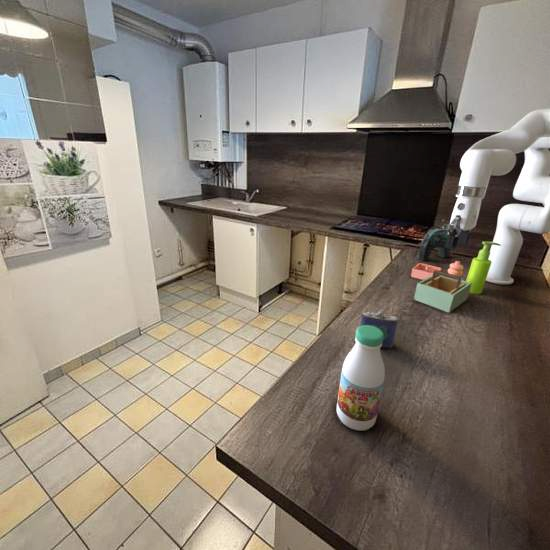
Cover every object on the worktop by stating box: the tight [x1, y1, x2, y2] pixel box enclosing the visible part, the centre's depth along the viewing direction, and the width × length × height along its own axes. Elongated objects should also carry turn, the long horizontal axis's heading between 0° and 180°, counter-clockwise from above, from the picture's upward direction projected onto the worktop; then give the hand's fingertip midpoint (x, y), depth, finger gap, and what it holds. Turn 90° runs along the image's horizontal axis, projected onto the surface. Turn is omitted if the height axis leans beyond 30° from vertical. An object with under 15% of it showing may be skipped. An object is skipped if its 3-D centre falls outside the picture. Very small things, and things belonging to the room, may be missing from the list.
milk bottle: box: [336, 325, 386, 432], centre depth 54 cm, size 8×8×20 cm
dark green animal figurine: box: [418, 218, 458, 262], centre depth 144 cm, size 20×6×20 cm, turn 114°
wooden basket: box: [424, 270, 465, 294], centre depth 103 cm, size 13×9×10 cm
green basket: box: [413, 274, 472, 314], centre depth 104 cm, size 16×12×7 cm
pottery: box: [410, 260, 464, 281], centre depth 120 cm, size 18×10×10 cm, turn 49°
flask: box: [359, 309, 399, 349], centre depth 78 cm, size 9×3×11 cm, turn 74°
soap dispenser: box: [465, 241, 500, 295], centre depth 109 cm, size 6×7×20 cm
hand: (455, 245), depth 96 cm, fingers open, 9 cm apart
